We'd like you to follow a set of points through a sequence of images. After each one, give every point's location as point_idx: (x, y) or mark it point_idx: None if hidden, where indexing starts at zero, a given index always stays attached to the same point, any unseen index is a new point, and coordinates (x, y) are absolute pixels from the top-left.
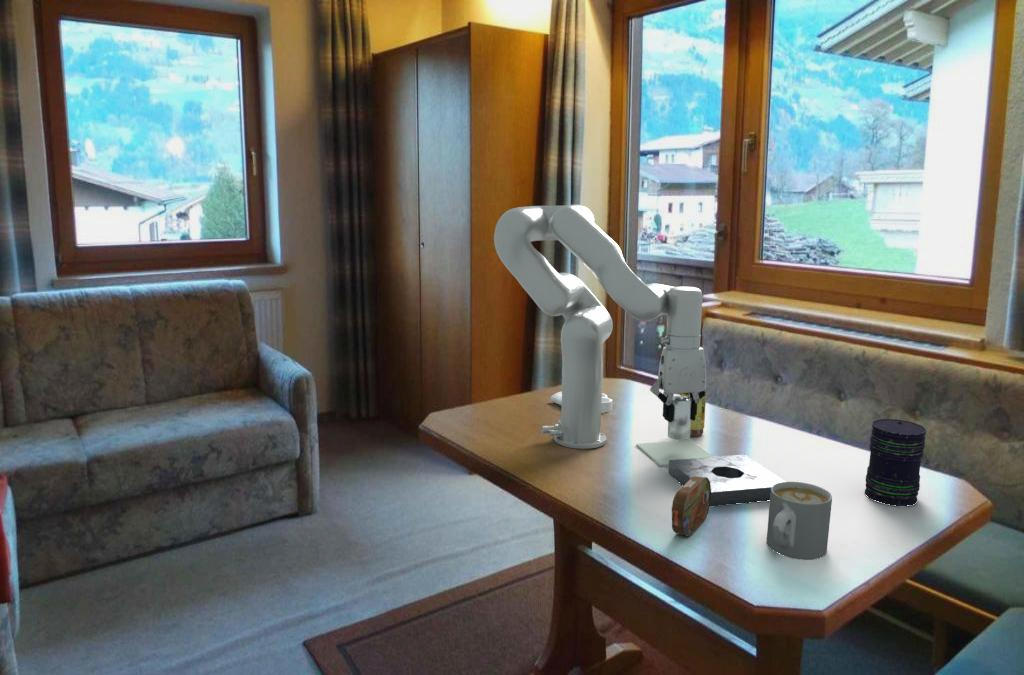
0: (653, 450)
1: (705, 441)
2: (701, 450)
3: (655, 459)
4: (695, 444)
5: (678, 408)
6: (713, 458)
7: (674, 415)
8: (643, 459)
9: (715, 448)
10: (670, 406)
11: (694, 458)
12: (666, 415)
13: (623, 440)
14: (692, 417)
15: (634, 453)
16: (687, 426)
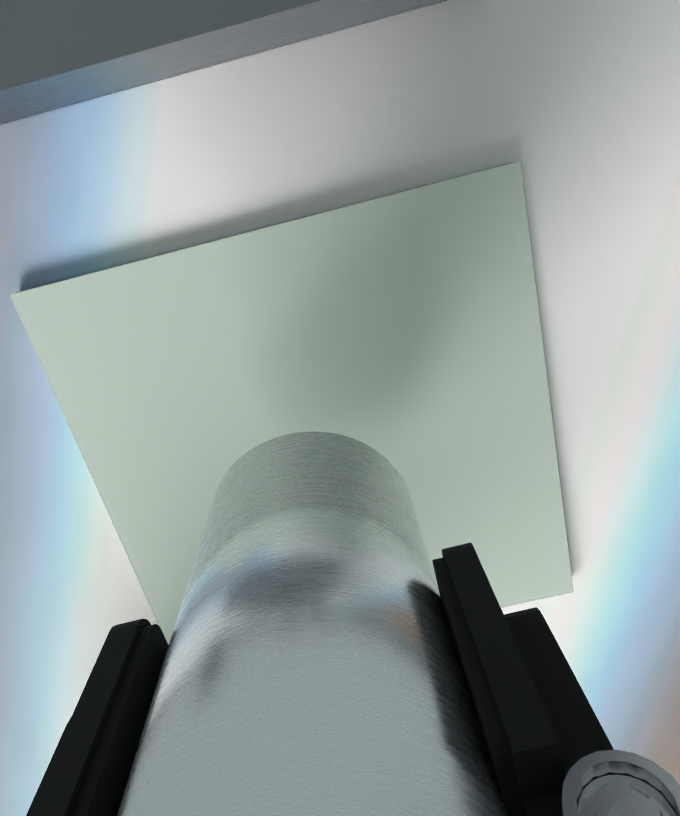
0: (489, 476)
1: (83, 681)
2: (129, 495)
3: (529, 285)
4: (159, 604)
5: (384, 696)
6: (27, 26)
7: (419, 618)
8: (600, 328)
9: (23, 570)
10: (551, 728)
11: (239, 15)
12: (532, 625)
13: (619, 664)
14: (143, 646)
15: (626, 446)
16: (233, 523)
